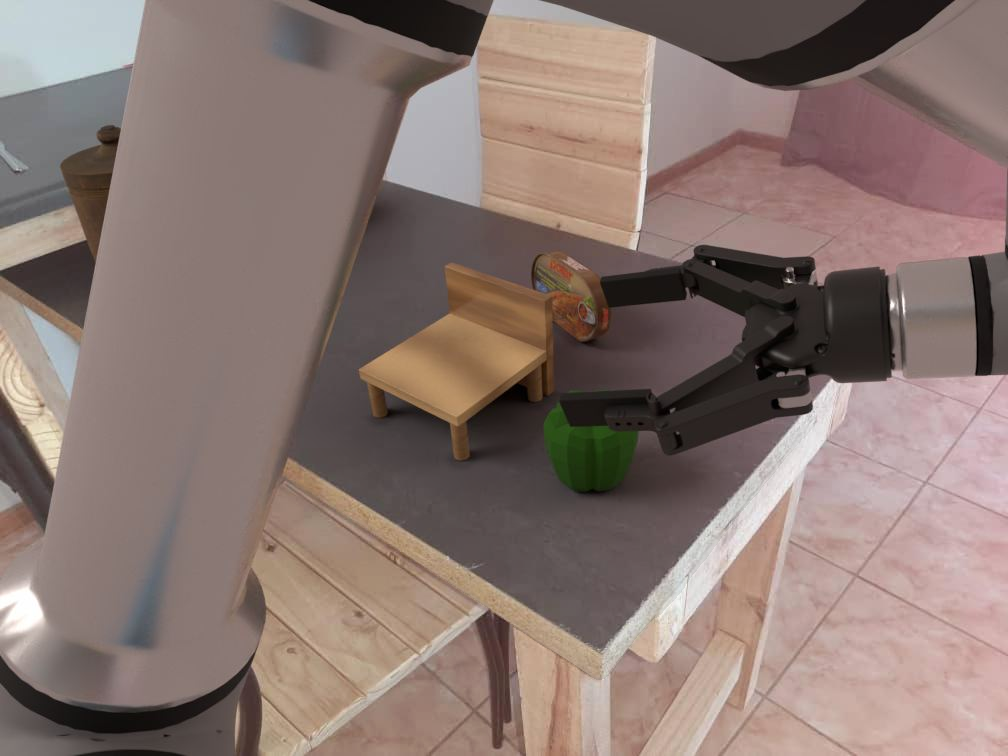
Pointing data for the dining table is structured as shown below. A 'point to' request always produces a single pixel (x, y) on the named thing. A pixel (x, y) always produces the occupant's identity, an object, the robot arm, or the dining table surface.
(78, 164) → the wooden container
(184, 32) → the robot arm
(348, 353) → the dining table surface
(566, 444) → the bell pepper
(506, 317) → the miniature wooden chair
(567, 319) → the tin
